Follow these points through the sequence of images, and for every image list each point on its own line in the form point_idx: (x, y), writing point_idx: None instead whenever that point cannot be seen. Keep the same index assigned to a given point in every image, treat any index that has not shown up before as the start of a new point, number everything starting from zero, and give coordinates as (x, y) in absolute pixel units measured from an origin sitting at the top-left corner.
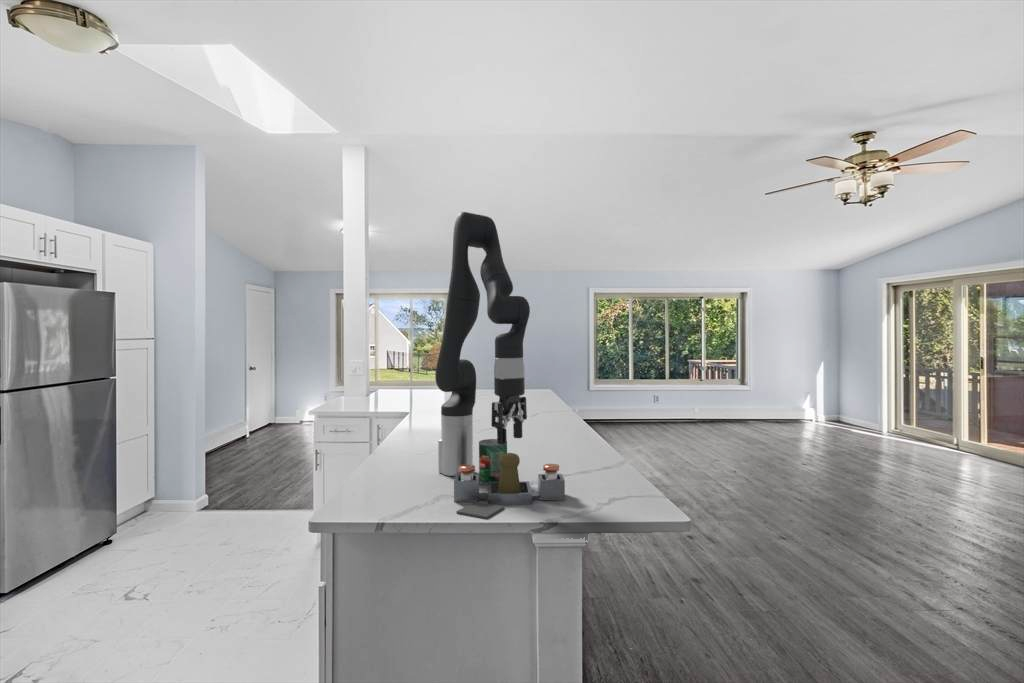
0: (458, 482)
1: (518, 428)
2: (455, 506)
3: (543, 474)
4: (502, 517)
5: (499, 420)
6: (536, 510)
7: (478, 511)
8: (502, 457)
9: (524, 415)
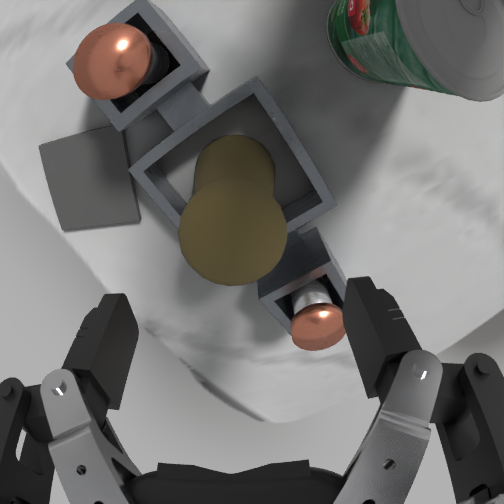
0: None
1: (363, 355)
2: (73, 97)
3: (332, 276)
4: (95, 248)
5: (25, 453)
6: (184, 285)
7: (70, 190)
8: (183, 234)
9: (439, 433)
